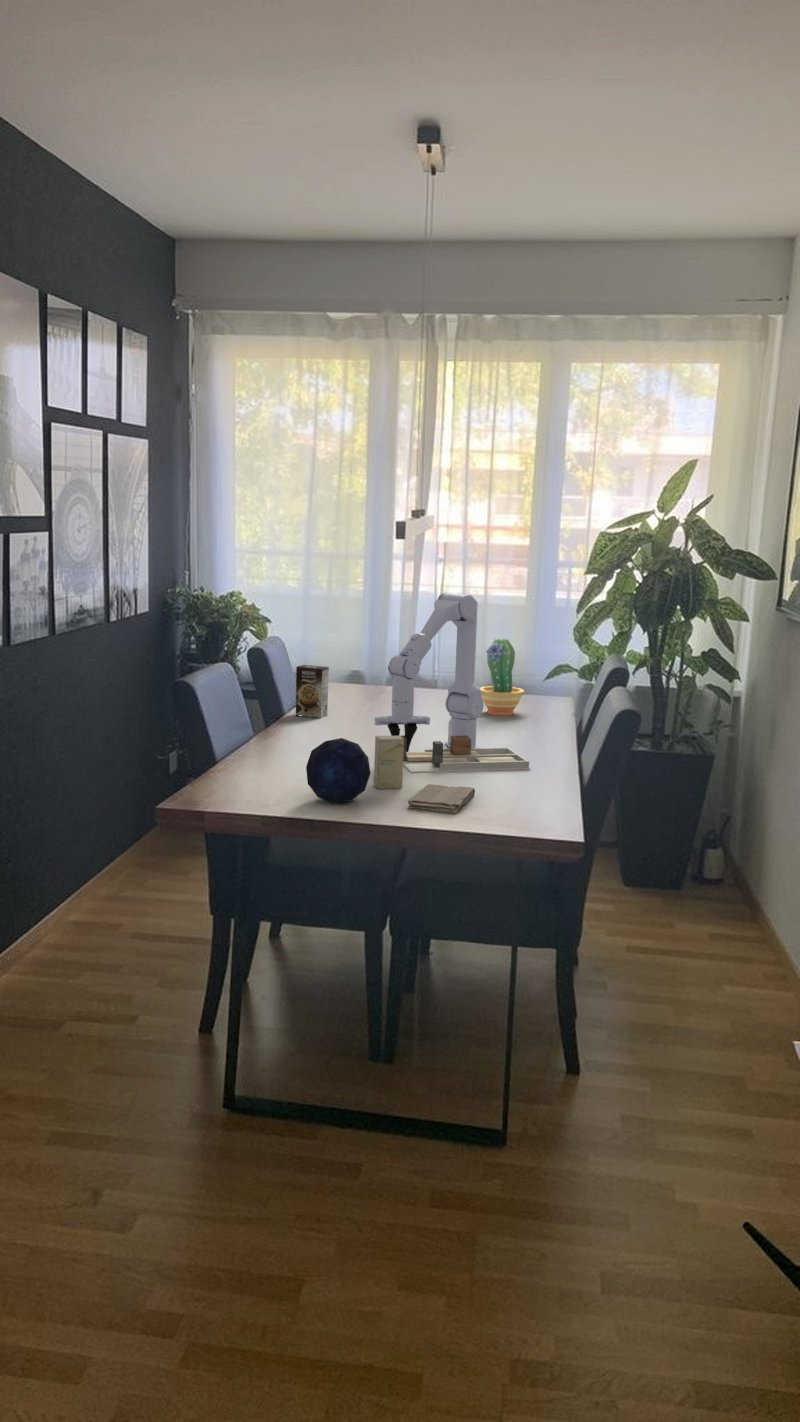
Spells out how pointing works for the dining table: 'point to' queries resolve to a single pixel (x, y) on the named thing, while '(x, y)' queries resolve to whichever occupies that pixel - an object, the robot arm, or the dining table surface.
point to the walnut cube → (460, 745)
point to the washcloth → (441, 799)
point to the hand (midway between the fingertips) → (401, 751)
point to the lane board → (471, 762)
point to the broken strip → (438, 758)
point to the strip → (423, 753)
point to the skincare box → (388, 762)
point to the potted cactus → (501, 680)
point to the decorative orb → (338, 770)
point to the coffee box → (312, 691)
